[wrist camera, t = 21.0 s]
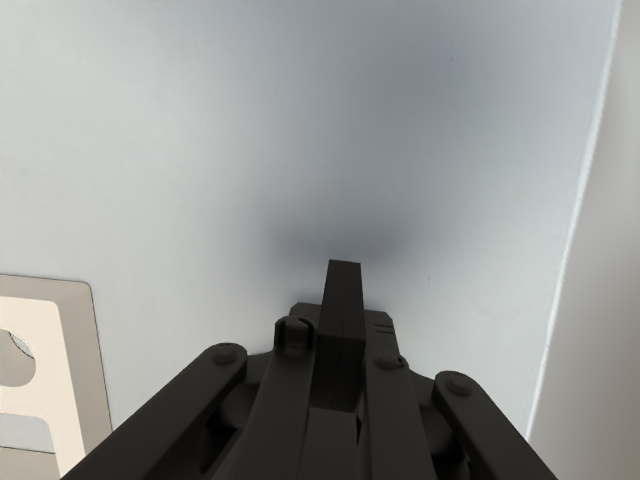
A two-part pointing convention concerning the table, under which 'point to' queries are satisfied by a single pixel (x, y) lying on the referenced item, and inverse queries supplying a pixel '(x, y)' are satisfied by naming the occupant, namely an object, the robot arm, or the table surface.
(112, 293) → the table surface
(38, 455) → the holder
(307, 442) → the drawer
